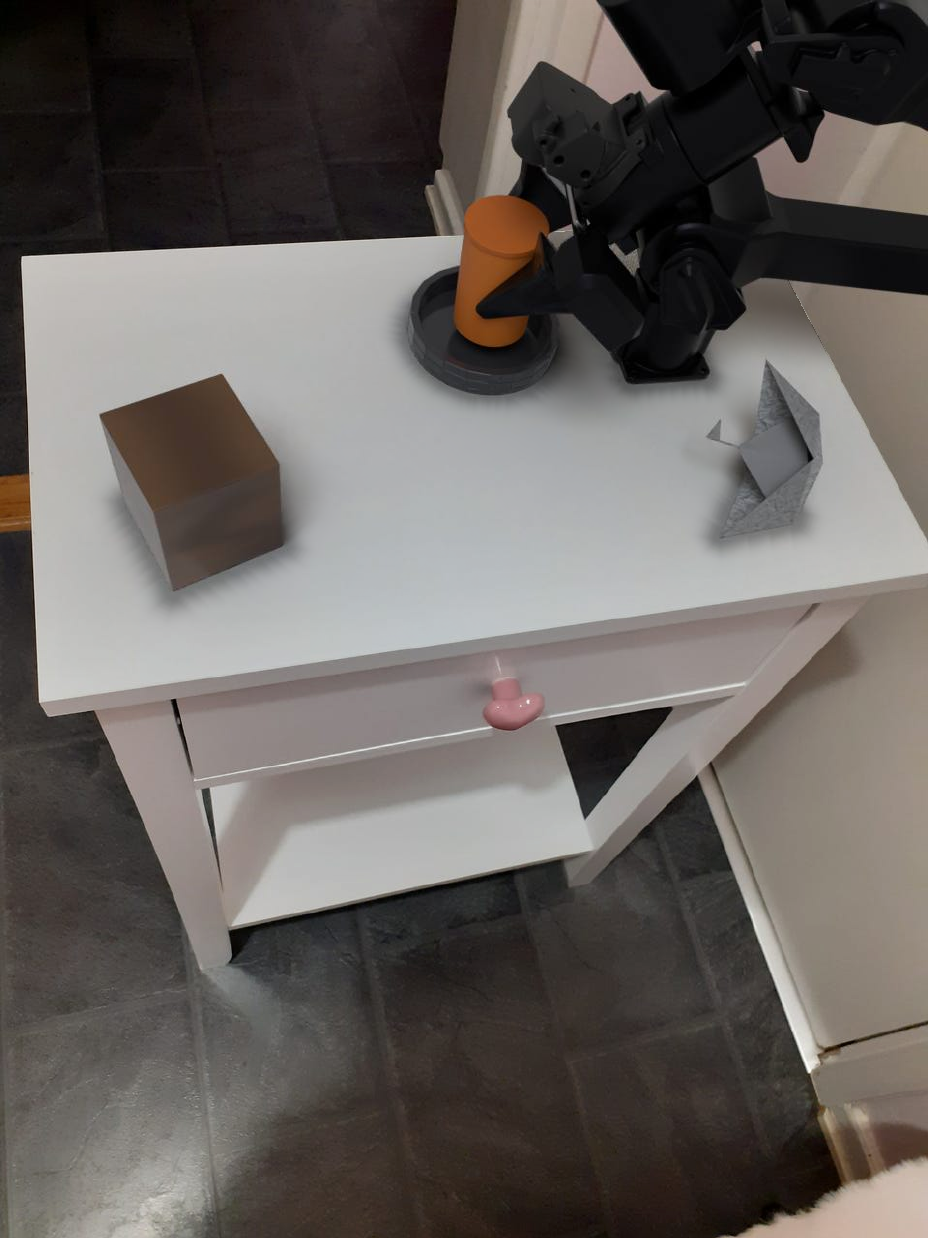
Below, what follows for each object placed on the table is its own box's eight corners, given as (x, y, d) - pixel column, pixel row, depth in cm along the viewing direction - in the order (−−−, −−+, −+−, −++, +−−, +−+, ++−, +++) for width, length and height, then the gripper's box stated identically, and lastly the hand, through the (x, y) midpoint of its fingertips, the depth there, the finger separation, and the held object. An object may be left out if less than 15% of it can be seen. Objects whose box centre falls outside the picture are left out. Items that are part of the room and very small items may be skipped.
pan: (533, 283, 70) (538, 262, 68) (569, 390, 65) (576, 370, 64) (395, 288, 68) (398, 266, 66) (423, 399, 63) (426, 379, 61)
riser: (232, 462, 58) (222, 372, 51) (283, 546, 56) (280, 463, 49) (124, 502, 56) (98, 413, 49) (172, 591, 53) (153, 511, 46)
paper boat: (830, 561, 60) (714, 528, 57) (766, 557, 66) (658, 526, 63) (874, 380, 60) (760, 336, 56) (806, 391, 66) (699, 352, 62)
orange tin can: (535, 305, 66) (557, 208, 59) (517, 357, 64) (538, 262, 57) (464, 284, 66) (477, 185, 59) (442, 335, 64) (453, 238, 57)
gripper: (590, -63, 53) (389, 111, 61) (644, 146, 44) (400, 317, 52) (680, 82, 60) (491, 219, 69) (741, 284, 52) (516, 413, 60)
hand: (475, 283), depth 62 cm, fingers closed on orange tin can, 5 cm apart
